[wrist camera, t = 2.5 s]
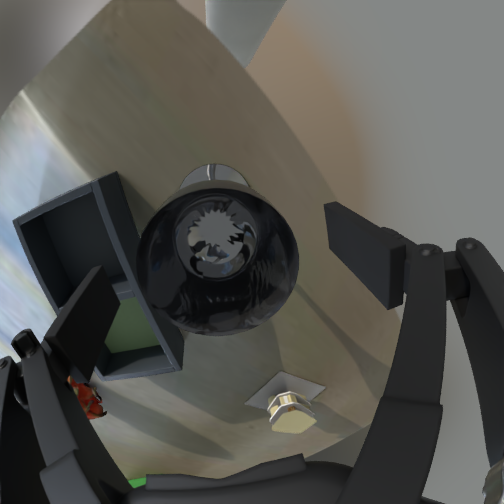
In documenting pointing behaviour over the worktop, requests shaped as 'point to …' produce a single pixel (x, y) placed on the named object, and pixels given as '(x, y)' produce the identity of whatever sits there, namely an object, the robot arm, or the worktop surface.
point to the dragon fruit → (88, 399)
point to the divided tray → (117, 269)
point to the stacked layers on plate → (287, 402)
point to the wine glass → (217, 255)
